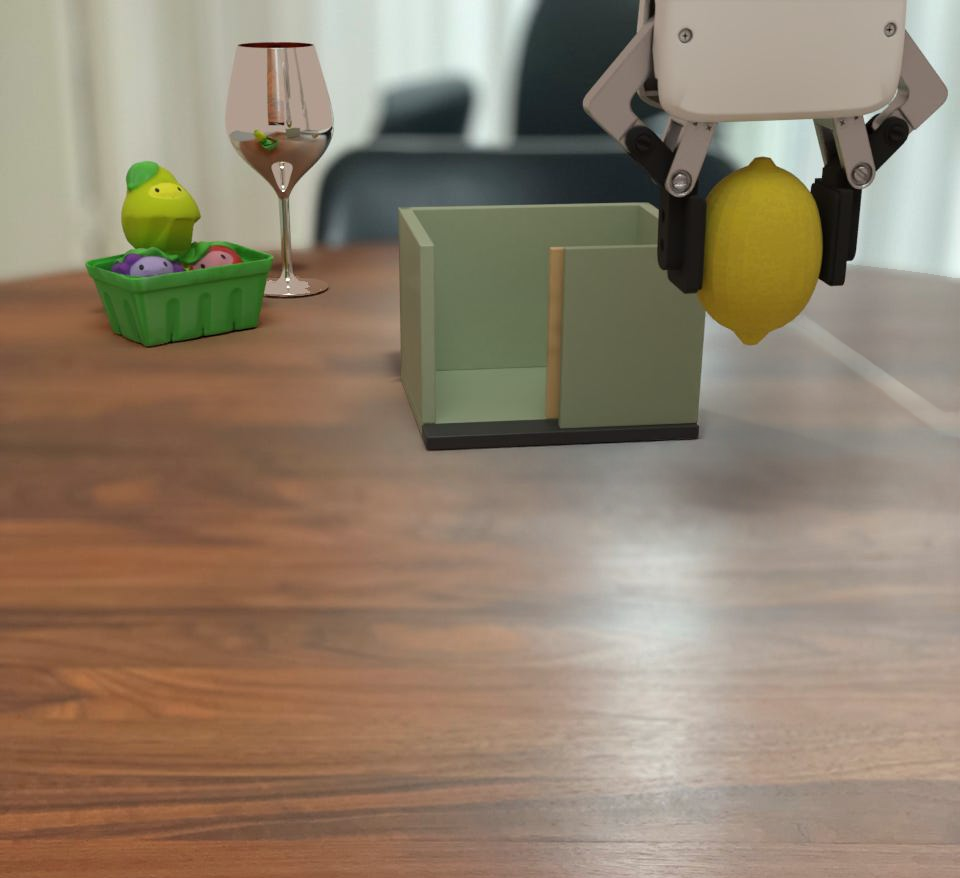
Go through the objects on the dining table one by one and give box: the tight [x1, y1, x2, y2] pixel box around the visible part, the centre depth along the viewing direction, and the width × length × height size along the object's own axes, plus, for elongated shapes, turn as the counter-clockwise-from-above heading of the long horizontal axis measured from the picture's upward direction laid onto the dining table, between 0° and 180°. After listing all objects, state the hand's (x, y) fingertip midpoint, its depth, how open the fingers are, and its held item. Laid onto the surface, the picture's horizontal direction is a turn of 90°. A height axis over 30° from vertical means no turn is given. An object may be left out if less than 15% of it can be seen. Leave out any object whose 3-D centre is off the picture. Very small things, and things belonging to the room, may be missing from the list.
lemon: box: [696, 156, 823, 346], centre depth 64 cm, size 6×6×8 cm
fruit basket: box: [84, 160, 274, 347], centre depth 105 cm, size 11×9×11 cm
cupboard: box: [397, 201, 707, 451], centre depth 88 cm, size 16×14×11 cm
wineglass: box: [224, 41, 335, 296], centre depth 115 cm, size 8×8×18 cm
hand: (754, 278), depth 64 cm, fingers closed on lemon, 5 cm apart
